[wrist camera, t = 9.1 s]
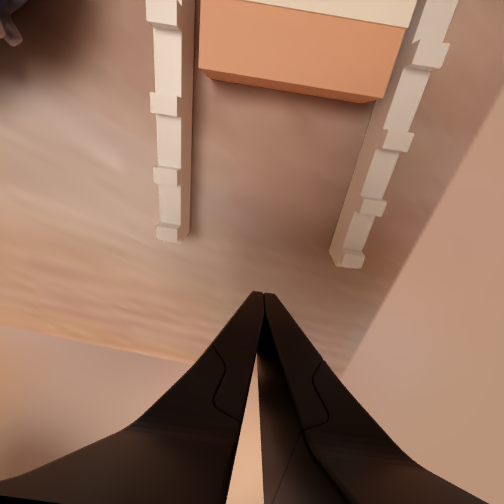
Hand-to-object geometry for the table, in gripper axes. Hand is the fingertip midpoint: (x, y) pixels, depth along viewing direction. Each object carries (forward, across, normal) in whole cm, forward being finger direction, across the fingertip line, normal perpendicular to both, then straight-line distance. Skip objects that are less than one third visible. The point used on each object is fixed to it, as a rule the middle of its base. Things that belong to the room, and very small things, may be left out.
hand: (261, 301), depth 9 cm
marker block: (+12, 0, -12) cm, 17 cm away
